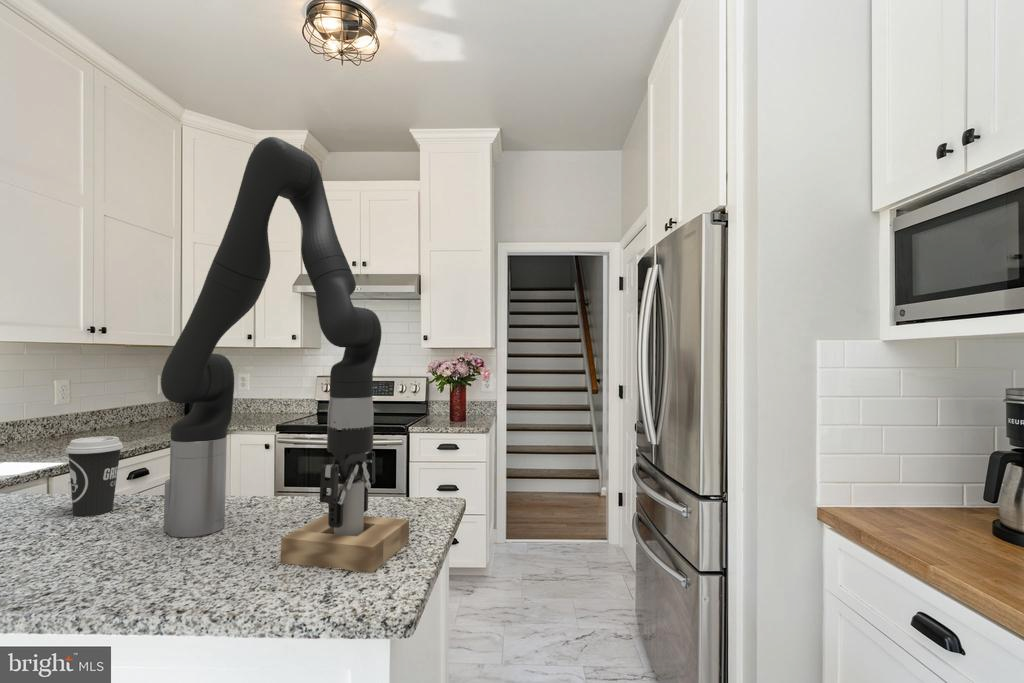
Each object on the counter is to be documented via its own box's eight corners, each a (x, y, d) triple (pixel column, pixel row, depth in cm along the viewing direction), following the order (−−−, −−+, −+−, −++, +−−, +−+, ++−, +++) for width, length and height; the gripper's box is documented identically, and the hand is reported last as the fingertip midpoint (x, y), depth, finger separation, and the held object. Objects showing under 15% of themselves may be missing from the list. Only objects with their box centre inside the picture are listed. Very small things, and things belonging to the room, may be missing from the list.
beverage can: (354, 558, 89) (356, 485, 89) (327, 555, 90) (329, 483, 90) (367, 548, 94) (369, 478, 94) (342, 545, 95) (344, 477, 95)
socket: (280, 563, 87) (281, 537, 87) (328, 534, 100) (328, 512, 100) (372, 573, 83) (372, 547, 83) (408, 542, 97) (409, 519, 97)
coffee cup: (98, 519, 107) (100, 443, 107) (50, 518, 107) (52, 442, 108) (132, 505, 117) (134, 436, 117) (88, 504, 117) (90, 435, 117)
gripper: (351, 417, 100) (350, 505, 100) (306, 428, 86) (304, 530, 86) (389, 419, 98) (387, 508, 98) (349, 430, 84) (347, 534, 84)
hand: (348, 518), depth 92 cm, fingers open, 8 cm apart
